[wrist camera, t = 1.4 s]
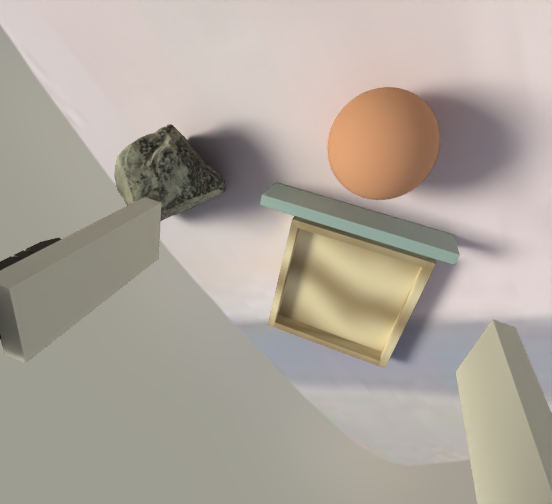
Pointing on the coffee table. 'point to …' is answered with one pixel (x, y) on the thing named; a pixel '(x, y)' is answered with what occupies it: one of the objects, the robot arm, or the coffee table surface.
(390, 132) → the ball
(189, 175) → the stone
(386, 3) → the coffee table surface
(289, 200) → the wall
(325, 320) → the tray
